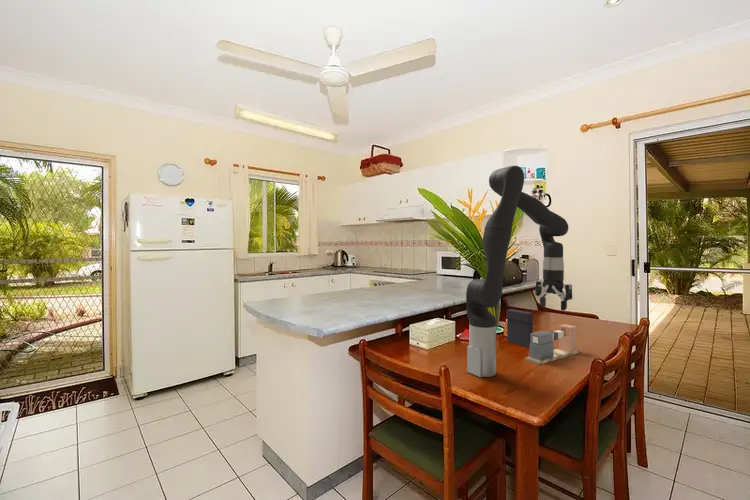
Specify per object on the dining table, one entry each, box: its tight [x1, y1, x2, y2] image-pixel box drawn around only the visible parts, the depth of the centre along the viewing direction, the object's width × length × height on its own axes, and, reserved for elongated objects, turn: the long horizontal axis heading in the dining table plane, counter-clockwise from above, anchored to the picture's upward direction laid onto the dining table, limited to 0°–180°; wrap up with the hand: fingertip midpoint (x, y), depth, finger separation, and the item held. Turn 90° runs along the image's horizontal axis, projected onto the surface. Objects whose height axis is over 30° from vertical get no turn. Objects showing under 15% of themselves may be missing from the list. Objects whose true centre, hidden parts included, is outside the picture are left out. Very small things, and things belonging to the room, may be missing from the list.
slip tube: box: [532, 329, 564, 344], centre depth 141 cm, size 17×3×3 cm, turn 121°
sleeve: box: [528, 330, 555, 361], centre depth 139 cm, size 8×5×10 cm, turn 121°
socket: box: [558, 323, 577, 352], centre depth 148 cm, size 4×5×10 cm
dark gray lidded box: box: [506, 308, 534, 348], centre depth 160 cm, size 11×4×15 cm, turn 34°
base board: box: [524, 347, 581, 366], centre depth 143 cm, size 28×6×1 cm, turn 121°
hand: (553, 308), depth 142 cm, fingers open, 8 cm apart
